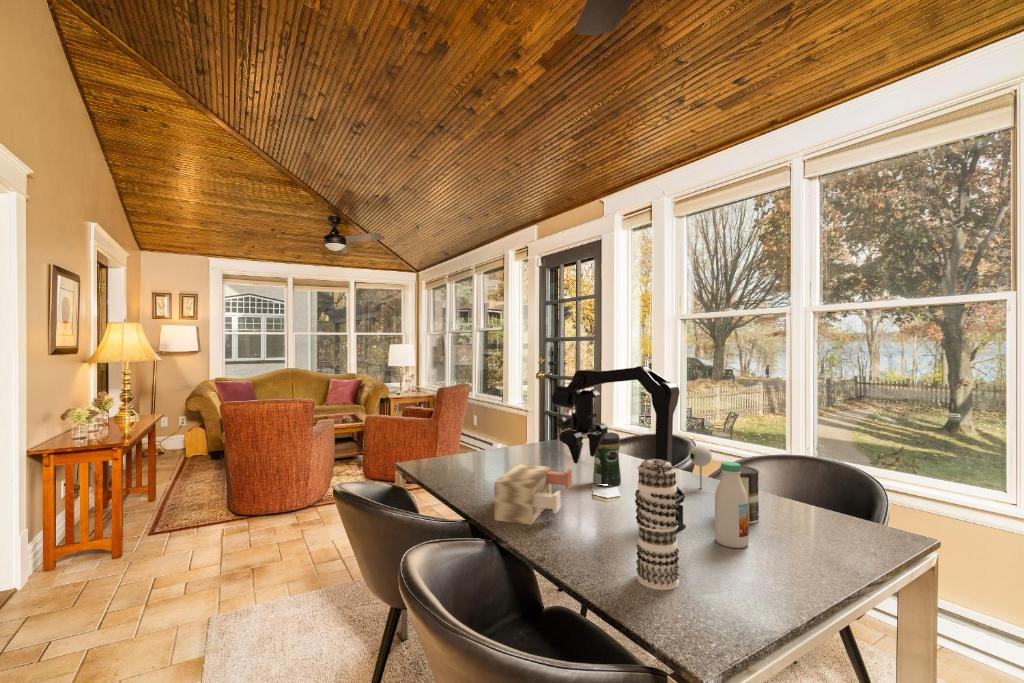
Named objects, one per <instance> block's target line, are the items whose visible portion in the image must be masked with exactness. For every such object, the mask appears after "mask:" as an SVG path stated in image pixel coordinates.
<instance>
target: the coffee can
mask: <svg viewBox="0 0 1024 683" xmlns="http://www.w3.org/2000/svg"><path fill="white" fill-rule="evenodd" d="M718 470H719V481H720V480H721V477H722V471H721V466H720V467H719V469H718ZM759 472H760V471H759V470H758V469H756V468H755V467H751V466H746V465H741V473H740V478H741V482H742V484H743V486H744V488H745V490H746V493H747V498H748V525H752V524H758V523H759V522H760V506H759V505H760V504H759V503H760V501H759V499H760V498H759Z"/></svg>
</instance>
